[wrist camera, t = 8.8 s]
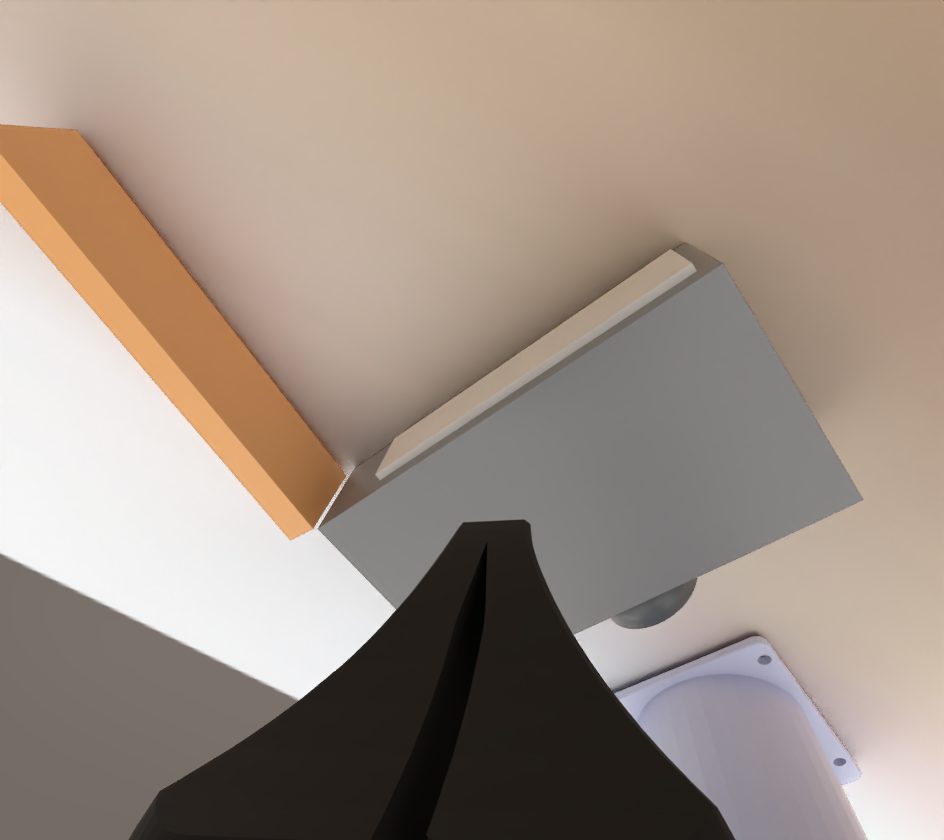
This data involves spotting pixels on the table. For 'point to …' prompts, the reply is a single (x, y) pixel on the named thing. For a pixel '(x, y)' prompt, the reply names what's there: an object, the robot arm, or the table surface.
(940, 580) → the table surface
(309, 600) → the table surface
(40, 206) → the orange piece
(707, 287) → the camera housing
